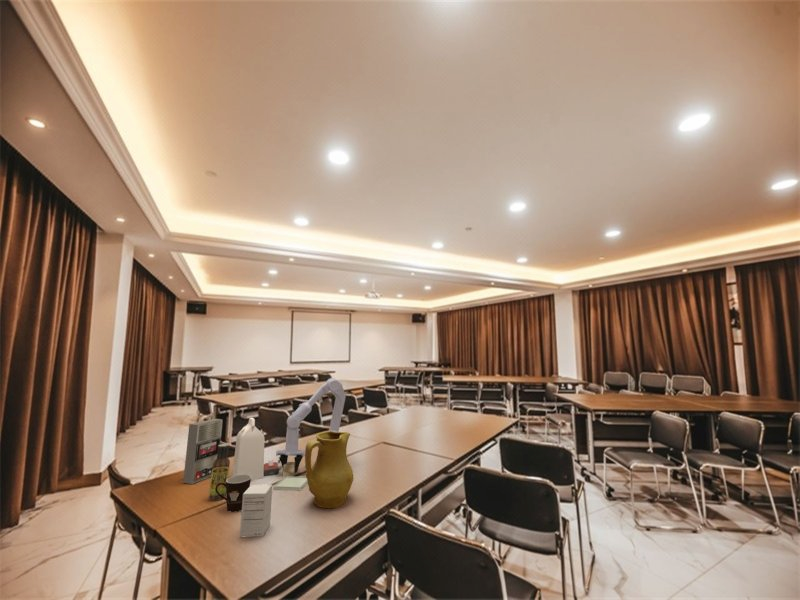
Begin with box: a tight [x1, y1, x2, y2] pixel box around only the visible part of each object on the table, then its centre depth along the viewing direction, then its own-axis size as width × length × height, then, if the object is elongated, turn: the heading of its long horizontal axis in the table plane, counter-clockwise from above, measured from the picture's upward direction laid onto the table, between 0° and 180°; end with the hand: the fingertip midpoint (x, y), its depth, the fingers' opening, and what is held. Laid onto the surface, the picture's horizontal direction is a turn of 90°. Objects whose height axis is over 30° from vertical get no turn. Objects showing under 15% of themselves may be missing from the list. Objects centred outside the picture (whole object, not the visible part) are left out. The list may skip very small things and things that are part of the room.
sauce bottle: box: [208, 443, 231, 501], centre depth 129 cm, size 6×6×20 cm
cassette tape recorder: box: [182, 418, 223, 485], centre depth 150 cm, size 14×6×25 cm, turn 161°
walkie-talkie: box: [264, 459, 283, 477], centre depth 160 cm, size 9×4×20 cm
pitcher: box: [304, 430, 354, 509], centre depth 126 cm, size 17×19×25 cm
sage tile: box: [272, 476, 308, 491], centre depth 141 cm, size 12×12×1 cm
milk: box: [231, 417, 265, 481], centre depth 152 cm, size 12×12×26 cm
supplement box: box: [239, 483, 273, 538], centre depth 104 cm, size 7×7×13 cm
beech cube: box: [282, 461, 299, 478], centre depth 152 cm, size 5×5×5 cm
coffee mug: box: [215, 475, 252, 513], centre depth 120 cm, size 12×9×10 cm
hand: (290, 471), depth 152 cm, fingers closed on beech cube, 5 cm apart
